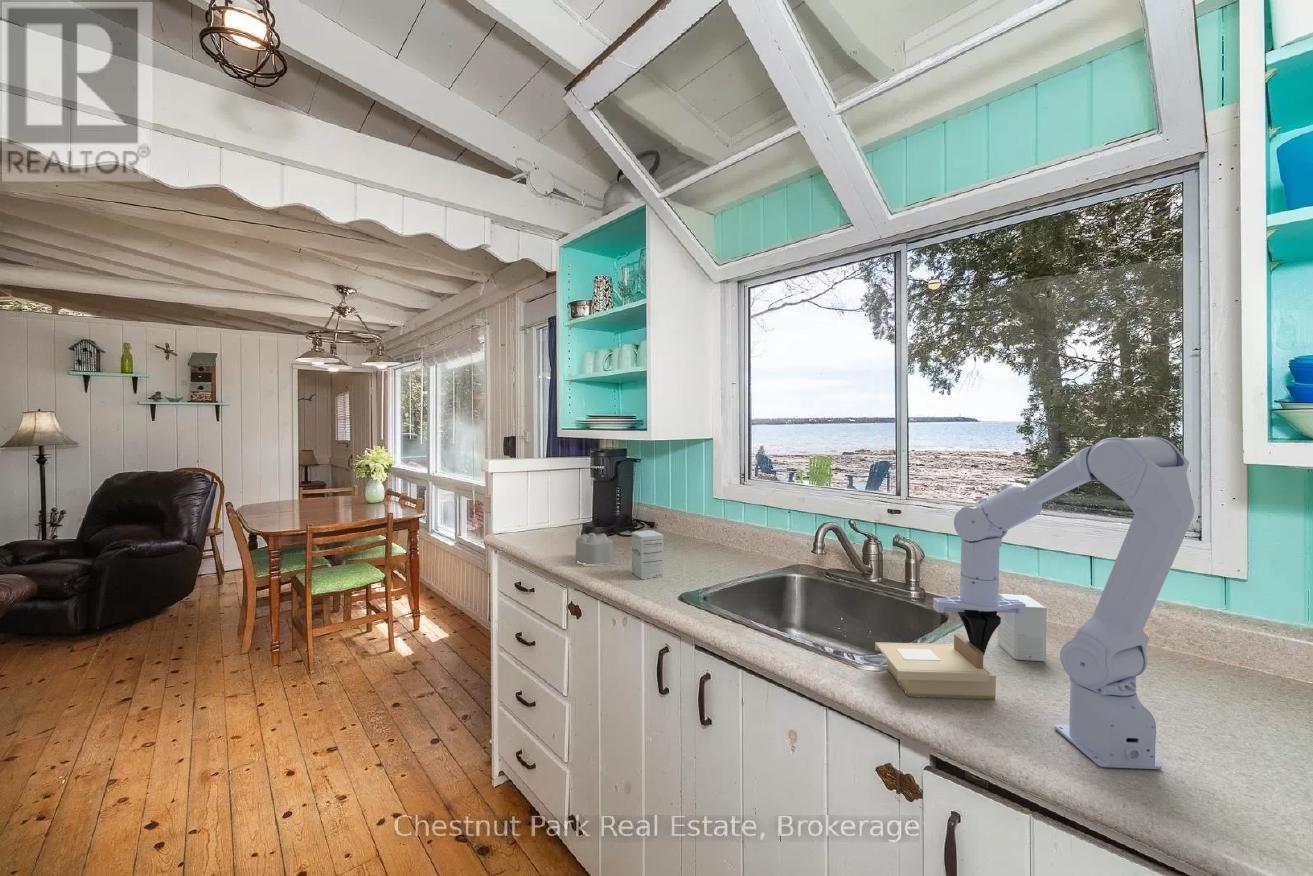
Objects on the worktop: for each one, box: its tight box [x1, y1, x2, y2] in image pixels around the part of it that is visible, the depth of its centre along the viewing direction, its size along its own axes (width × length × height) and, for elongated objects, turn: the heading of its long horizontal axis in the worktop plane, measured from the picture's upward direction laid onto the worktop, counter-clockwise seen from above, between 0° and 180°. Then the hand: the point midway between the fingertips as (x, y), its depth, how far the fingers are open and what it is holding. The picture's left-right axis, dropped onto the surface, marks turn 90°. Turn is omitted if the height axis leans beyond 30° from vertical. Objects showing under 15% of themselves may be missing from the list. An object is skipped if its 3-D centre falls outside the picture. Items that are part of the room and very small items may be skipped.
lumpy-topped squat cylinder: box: [575, 532, 614, 564], centre depth 177 cm, size 10×13×9 cm
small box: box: [997, 593, 1048, 662], centre depth 108 cm, size 8×6×10 cm
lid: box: [874, 633, 989, 682], centre depth 96 cm, size 12×14×4 cm
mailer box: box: [886, 659, 997, 701], centre depth 96 cm, size 10×14×4 cm
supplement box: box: [631, 529, 664, 580], centre depth 161 cm, size 7×7×13 cm
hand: (977, 653), depth 95 cm, fingers closed
